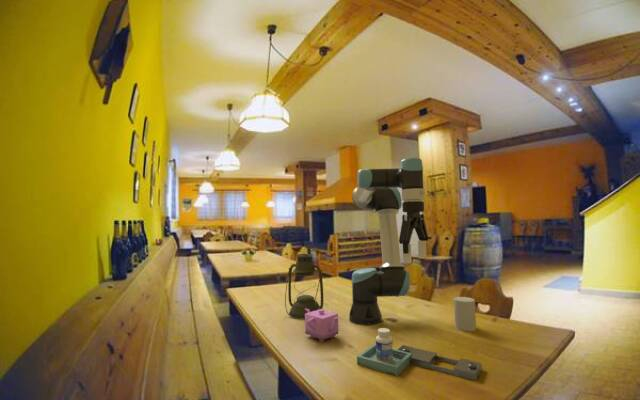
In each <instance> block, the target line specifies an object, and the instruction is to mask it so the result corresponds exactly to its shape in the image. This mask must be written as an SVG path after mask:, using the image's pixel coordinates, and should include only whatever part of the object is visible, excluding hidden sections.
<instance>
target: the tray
mask: <svg viewBox="0 0 640 400" xmlns="http://www.w3.org/2000/svg"><path fill="white" fill-rule="evenodd" d="M394 352H396V353H400V354H404V355H406V356H405V357H404V358H403V359H399V358H396V357H393V361H392V362H391V363H385V362H381V361H378V360H377V359H376V343H375V344H373V345H371V346H369V347H368V348H367V349H365V350H364V351H362V352H361V353H359V354H358V355H356V364H357V365H358V366H362V367H366V368H369V369H372V370H375V371H379V372H382V373H386V374H389V375H392V376H396V377H398V376H399V375H401V373H402V372H403V371H404V370H406V368H408V366H409V365H411V364H410V356H411V355H412V353H408V352H404V351H400V350H397V349H394V348H393V353H394Z"/></svg>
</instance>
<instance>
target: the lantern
mask: <svg viewBox="0 0 640 400" xmlns="http://www.w3.org/2000/svg"><path fill="white" fill-rule="evenodd" d="M295 257H297V258H296V259H297V260H296V262H295V263H293V264H291V265H290V267H288V272H287V279H286V286H285V291H287V288H288V303H289V305H290V307H291V308H290V309H289V312H288V309H287V292H284V293H285V294H284V296H285V297H284V304H285V305H284V307H285V311H286V313H287V314H288V316H289V317H291V318H293V319H298V320H299V319H301V320H305V314H306V313H307V311H306V310H305V309H309V310H310V312H312V311H316V310H319V309H324V308H323V307H324V284H323V283H324V282H323V275H322V272H323V270H322V269H321V267H320V266H319V265H317V264H315V263H314V260H313V257H314V255H312V254H311V253H300V254H297V255H296V256H295ZM293 268H294V269H293ZM316 271H318V277H319V278H318V279H319V280H318V285H317V283H316V282H314V284H315V285H314V287H315V286H317V288H316V294H315V297H314V296H312V295H309V294H302V293H304V292H306V291H308V290H309V288H308V289H306V290H303V291H302V292H300V291H298V293H299V295H298V296H297V297H295V298H294V300H293V301H294V302H292V273H295V274H296V276H297V277H299V279H301V278H303V277H309V276H314V274H315V272H316ZM303 279H304V280H306V281H308V279H307V278H303ZM297 281H298V279H296V280H295V282H294V284H293V287H294V289H296V287H295V286H296V285H295V284H296V282H297ZM310 282H312V283H313V281H312V280H310ZM319 286H320V290H319ZM318 292H320V304H319V302H318V301H317V296H318V295H317V294H318ZM300 294H301V295H300Z"/></svg>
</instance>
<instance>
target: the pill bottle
mask: <svg viewBox="0 0 640 400" xmlns="http://www.w3.org/2000/svg"><path fill="white" fill-rule="evenodd" d="M390 330H391V329H389V328H387V327H382V328H381V327H379V328H378V329H377V336H376V337H375V345H376V359H377V360H378V361H381V362H385V363H391V362H392V361H393V349H394V348H393V338H392V336H391V331H390Z"/></svg>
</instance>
